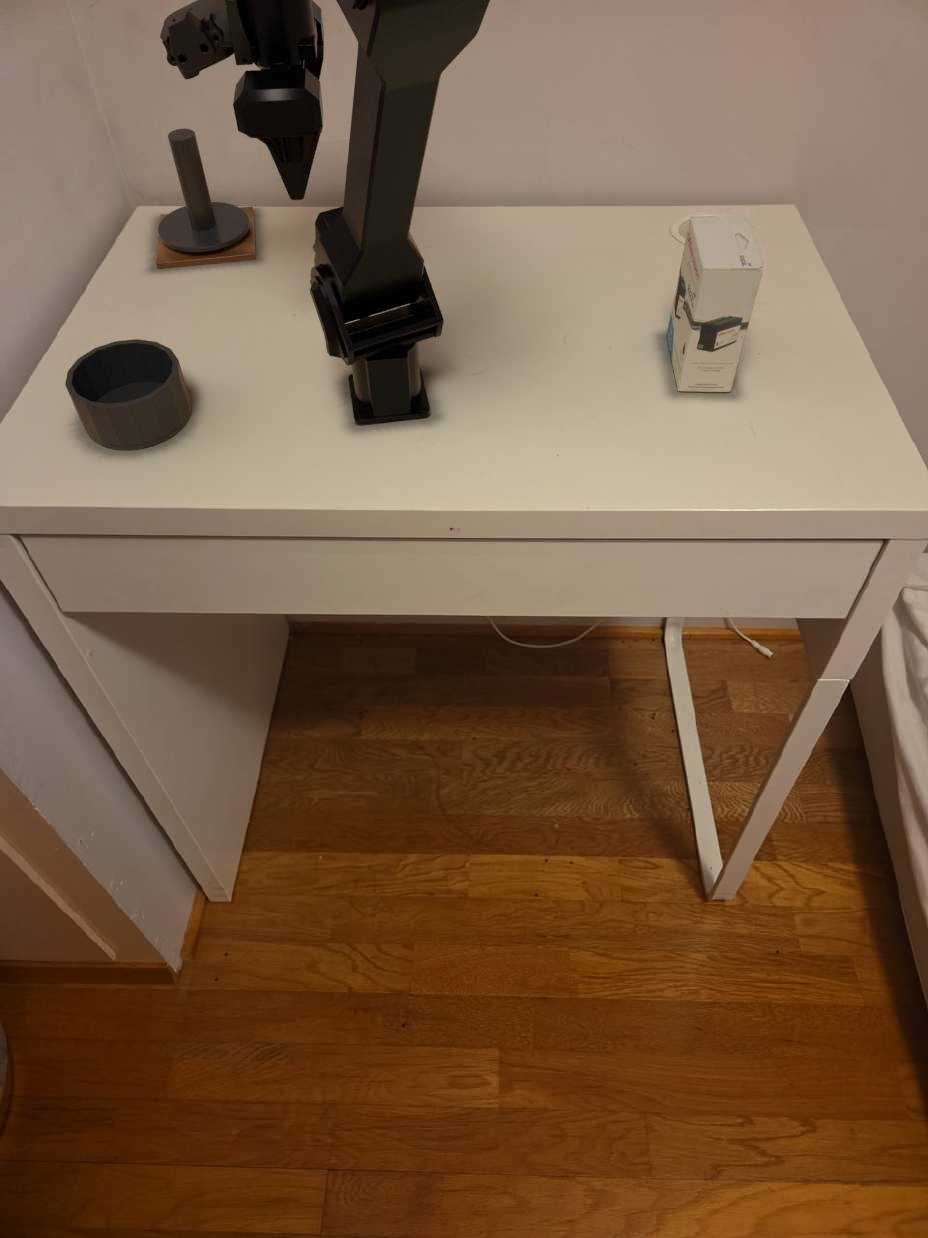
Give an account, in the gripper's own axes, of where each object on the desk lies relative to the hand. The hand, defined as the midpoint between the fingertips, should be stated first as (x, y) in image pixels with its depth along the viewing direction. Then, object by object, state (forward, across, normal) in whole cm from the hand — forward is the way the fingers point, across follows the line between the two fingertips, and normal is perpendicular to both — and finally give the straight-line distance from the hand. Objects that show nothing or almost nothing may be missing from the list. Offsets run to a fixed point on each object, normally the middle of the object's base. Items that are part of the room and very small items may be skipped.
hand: (298, 171), depth 77 cm
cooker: (+13, +15, -15) cm, 25 cm away
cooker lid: (+12, -14, -12) cm, 22 cm away
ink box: (+13, +13, +34) cm, 39 cm away
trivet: (+13, -14, -12) cm, 23 cm away
